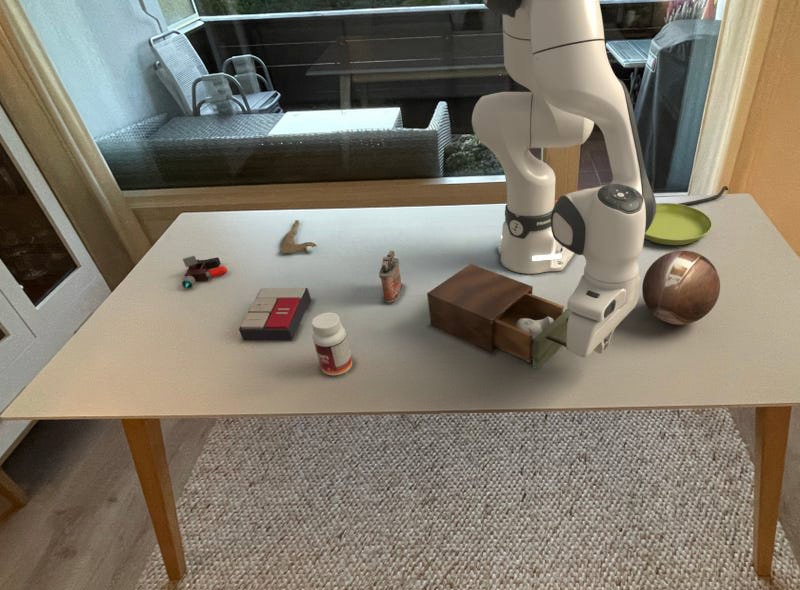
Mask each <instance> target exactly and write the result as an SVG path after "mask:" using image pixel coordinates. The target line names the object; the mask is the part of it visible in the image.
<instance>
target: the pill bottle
mask: <svg viewBox="0 0 800 590" xmlns="http://www.w3.org/2000/svg"><path fill="white" fill-rule="evenodd" d="M311 326H312V330H313V334H312V340H313V344H314V345H313V346H314V348H315V352H316V355H317V359H318V362H319V366H320V369H321V371H322V372H323V373H324V374H326V375H327V376H339V375H343V374H345V373H347V372H348V371H350V369H351V368H352V366H353V358H352V354H351V349H350V346H349V341H348V336H347V333H346V329H345V328H344V327H343V325H342V321H341V318H340V315H338V314H337V313H334V312H323V313H320V314H317V315H316V316H314V317H313V319H312V320H311Z"/></svg>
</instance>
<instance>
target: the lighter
mask: <svg viewBox="0 0 800 590" xmlns="http://www.w3.org/2000/svg"><path fill="white" fill-rule="evenodd" d="M395 252H396V251H394V250H393V249H392V250H389V251H388V253H387V255H386V256H383V258H382V263H381V267H380V269H379V273H378V275H379V279H380V281H381V287H382V293H383V303H384V304H385V305H393V304H395V303H396V302H397V301H398V300H399V298H400V297H401V295H402V293H403V290H404V286H403V283H402V278H401V277H402V276H401V270H400V259H399V258H397V257H395V256H396V254H395Z"/></svg>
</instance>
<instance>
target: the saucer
mask: <svg viewBox="0 0 800 590" xmlns="http://www.w3.org/2000/svg"><path fill="white" fill-rule="evenodd" d="M712 227H713V222H712V219H711V218H710V217H709V216H708V215H707V214H706V213H705V212H703V211H702V210H700V209H697V208H695V207H692V206H690V205H681V204H679V203H672V202H656V213H655V217H654V219H653V222H652V224H651V225H650V227H649V229H648V230H647V231H646V233H645V236H644V240H647V241H649V242H652V243H654V244H658V245H663V246H684V245H688V244H691V243H695V242H696V241H699V240H700V239H702V238H703V237H704V236H706V235H708V233H709V232H710V231H711V230H712Z"/></svg>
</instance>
